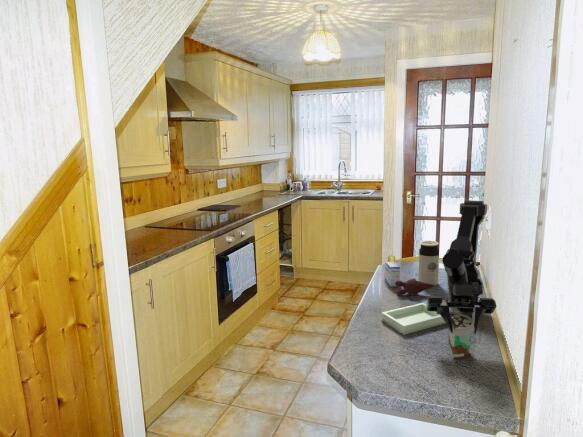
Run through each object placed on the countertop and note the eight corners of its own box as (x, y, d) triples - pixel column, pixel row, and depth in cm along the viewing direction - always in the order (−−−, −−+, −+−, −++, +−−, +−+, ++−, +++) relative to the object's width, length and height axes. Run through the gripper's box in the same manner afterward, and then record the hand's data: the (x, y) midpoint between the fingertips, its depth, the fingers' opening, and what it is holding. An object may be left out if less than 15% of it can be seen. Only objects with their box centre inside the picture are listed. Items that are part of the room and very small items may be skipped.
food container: (477, 363, 118) (479, 330, 116) (454, 361, 119) (455, 328, 117) (468, 342, 129) (469, 311, 127) (447, 341, 131) (448, 310, 129)
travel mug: (417, 280, 185) (417, 240, 181) (436, 280, 184) (437, 240, 180) (420, 286, 177) (420, 245, 174) (439, 286, 176) (441, 245, 172)
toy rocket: (431, 275, 171) (393, 278, 173) (434, 277, 164) (395, 280, 166) (433, 293, 171) (395, 296, 173) (437, 295, 163) (397, 298, 165)
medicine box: (384, 280, 186) (384, 261, 184) (394, 280, 186) (394, 261, 185) (390, 286, 178) (390, 267, 177) (400, 286, 179) (400, 266, 177)
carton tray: (422, 310, 154) (422, 302, 153) (447, 323, 143) (447, 314, 142) (381, 320, 147) (381, 312, 146) (403, 334, 136) (403, 326, 135)
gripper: (428, 270, 125) (432, 321, 117) (496, 272, 121) (505, 324, 113) (425, 286, 134) (428, 334, 126) (488, 288, 131) (495, 338, 122)
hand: (463, 332), depth 121 cm, fingers closed on food container, 6 cm apart
